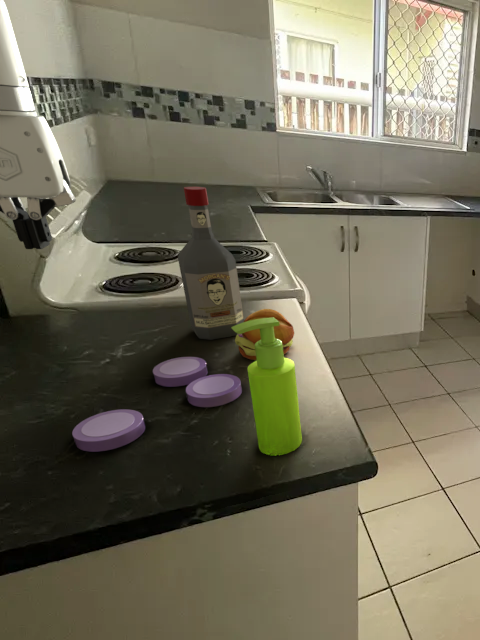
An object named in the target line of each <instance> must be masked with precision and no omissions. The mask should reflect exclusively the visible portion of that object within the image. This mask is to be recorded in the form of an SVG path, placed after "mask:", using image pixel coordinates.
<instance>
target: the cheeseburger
mask: <svg viewBox="0 0 480 640" xmlns="http://www.w3.org/2000/svg"><path fill="white" fill-rule="evenodd" d="M271 317H274V318H275V319H276V320H278V321H279V325H280V326H274V335H275V338H276V339H279V340H281V341H282V345H283V354H284V355H285V354H286V353H288V351H290V347H292V345H293V343H294V341H293V338H294V336H295V329H294V326H293V324H292V323H291V322H289V321H288V320H287V318H286V317H285V316H284V315H283V314H282V313H281V312H279V311H277V310H275V309H271V308H262V309H258V310H256V311H254V312H252V313H250V314H249V315H248V316H246V318H244V322H246V321H250V320H255V319H261V318H271ZM259 340H261V336H260V329H255V330H251V331H248V332H245V333H242V334H237V335H235V339H234V342H235V345H236V346H238V351H239V353H240V355H242V357H243V358H246V359H249V360H251V361H253V360H254V361H257V359H256V352H255V343H256V342H257V341H259Z"/></svg>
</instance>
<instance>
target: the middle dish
mask: <svg viewBox="0 0 480 640" xmlns="http://www.w3.org/2000/svg"><path fill="white" fill-rule="evenodd" d="M242 392H243V388H242V382H241V379H240V378H239V377H238V376H236V375H233V374H229V373H217V374H209V375H206V376H205V377H202V378H199V379H197V380H195V381H193V382H191V383H190V384H188V385H186V387H185V395H186V399H187V402H188V403H189V404H190V405H191V406H194V407H198V408H213V407H219V406H223V405H227V404H229V403H231V402H234V401H235V400H236V399H238V398H239V397H240V396H241V394H242Z"/></svg>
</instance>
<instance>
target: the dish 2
mask: <svg viewBox="0 0 480 640" xmlns="http://www.w3.org/2000/svg"><path fill="white" fill-rule="evenodd" d="M207 365H208V363H207V361H206V360H205V359H204V358H201V357H198V356H181V357H175V358H171V359H167V360H164V361H162V362H160V363H158V364H157V365H155V366H154V367H153V369H152V375H153V378H154V379H153V380H154V382H155V383H156V384H157V385H159V386H162V387H169V388H172V387H183V386H188V385H189V384H190V383H191V382H193V381H195V380H197V379H199V378H202V377H205V376H208V373H209V370H208V366H207Z"/></svg>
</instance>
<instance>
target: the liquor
mask: <svg viewBox="0 0 480 640" xmlns="http://www.w3.org/2000/svg"><path fill="white" fill-rule="evenodd" d="M183 192H184V198H185V204H186V205H187V207H188V213H189V218H190V224H191V233H190V234H191V238H190V239H189V240H188V241H187V242H186V243H185V245H184V246H183V247H182V249H181V250H180V251H179V252H178V256H177V261H178V266H179V271H180V276H181V282H182V286H183V287H182V288H183V290H184V291H183V292H184V297H185V302H186V306H187V307H186V308H187V311H188V318H189V322H190V327H191V329H192V330H193V333H195V335H196V336H197V338H198V339H200V340H208V341H213V340H219V339H224V338H229V337H234V336H235V337H236V336H237V333H236V332H235V331H234V330H233V329H232V328H231V327H233V326H235V325H238V324H240V323H243V322H244V320H245V317H244V312H243V311H244V310H243V303H242V296H241V289H240V283H239V276H238V269H237V261H236V259H235V257H234V255H233V254H232V253H231V251H229V250H228V249H227V248H226V247H225V246H224V245H222V244H221V243H220V242H219V241H218V239H216V238H215V234H214V232H213V230H212V224H211V219H210V213H209V207H208V205H209V197H208V193H207V188H206V187H204V186H184V187H183Z"/></svg>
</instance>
